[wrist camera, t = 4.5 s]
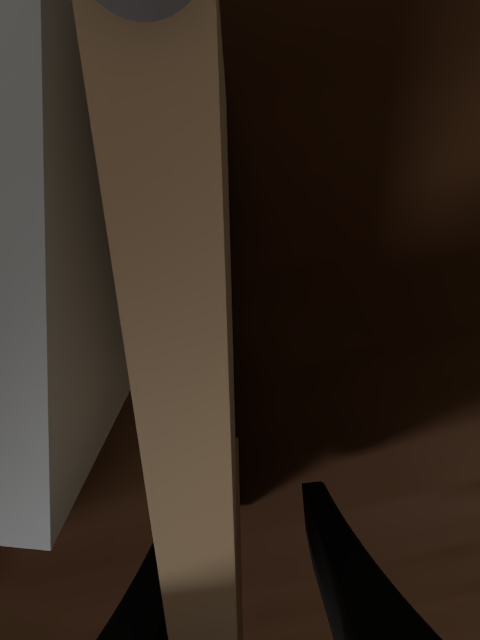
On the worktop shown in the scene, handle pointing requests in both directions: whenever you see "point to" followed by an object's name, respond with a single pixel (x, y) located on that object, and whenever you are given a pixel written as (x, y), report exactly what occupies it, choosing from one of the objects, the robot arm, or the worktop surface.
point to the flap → (173, 284)
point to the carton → (51, 279)
